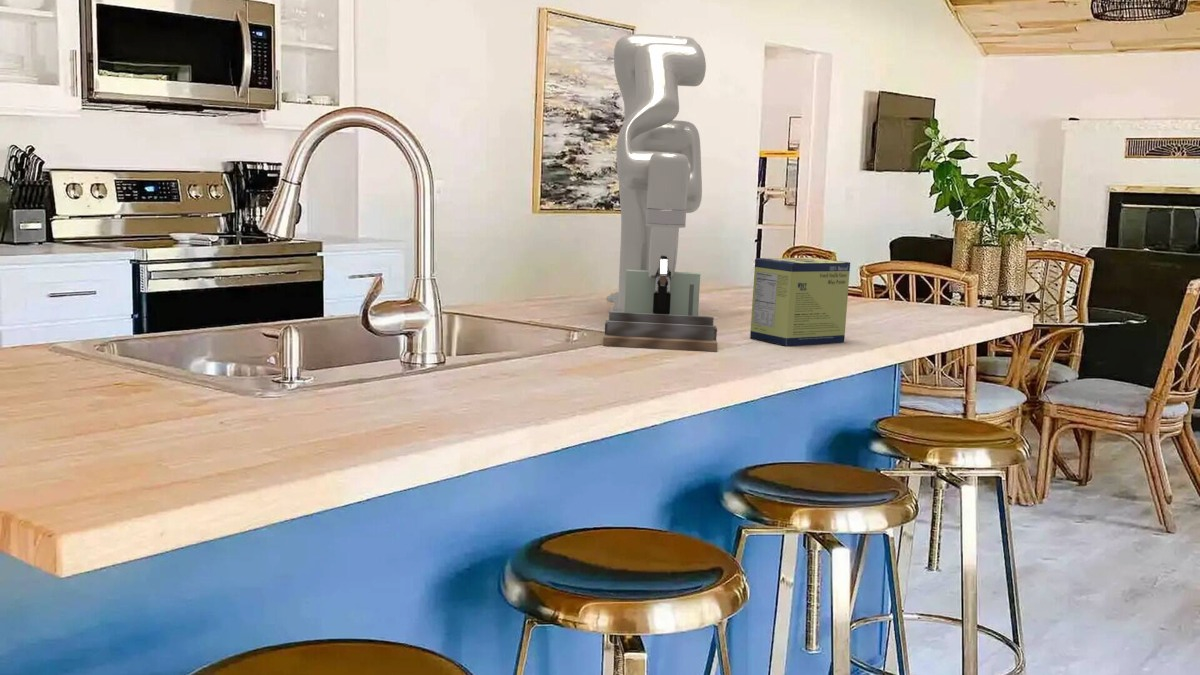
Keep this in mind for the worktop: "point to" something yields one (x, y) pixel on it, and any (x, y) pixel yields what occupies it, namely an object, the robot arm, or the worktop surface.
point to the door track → (660, 331)
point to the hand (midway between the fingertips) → (661, 311)
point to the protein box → (799, 301)
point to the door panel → (643, 291)
